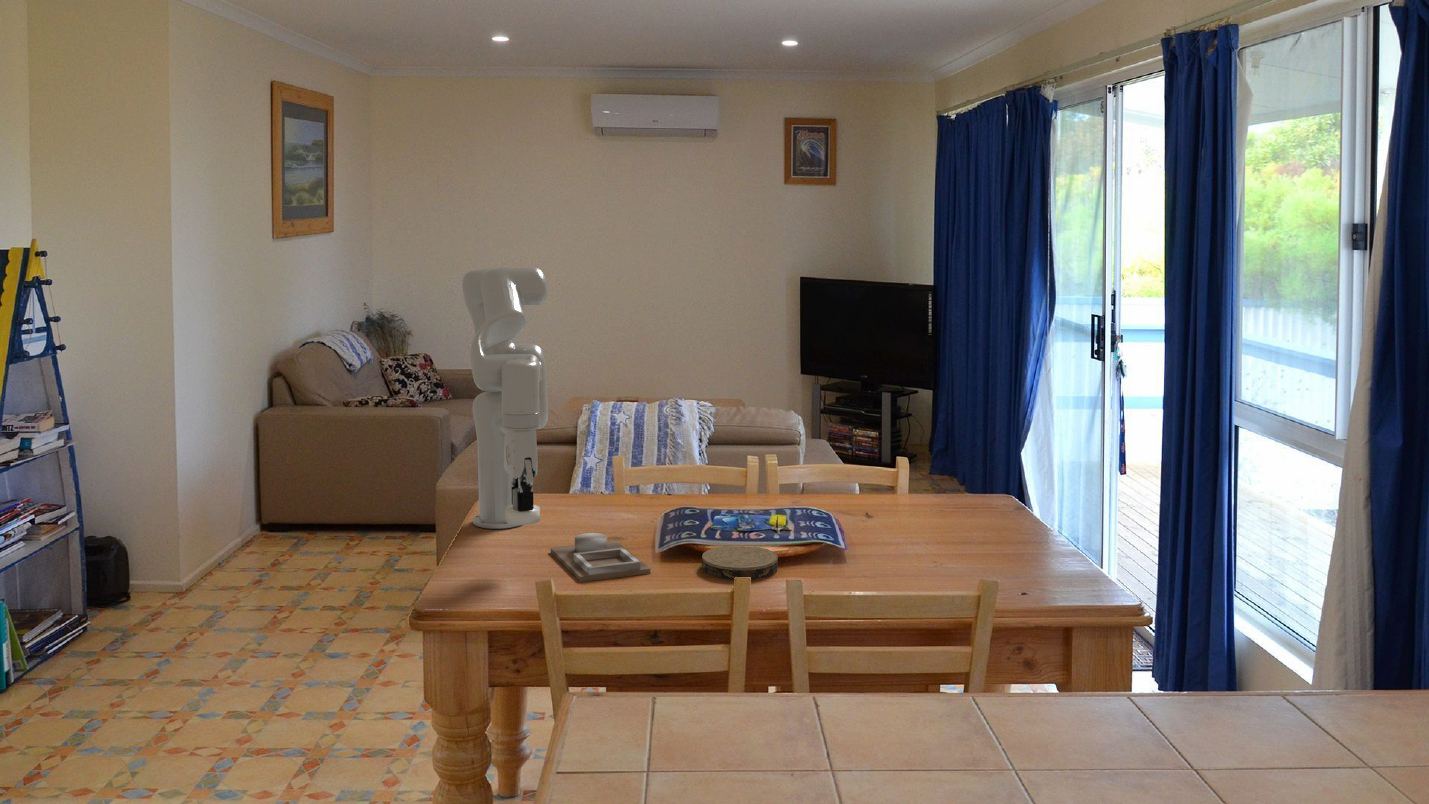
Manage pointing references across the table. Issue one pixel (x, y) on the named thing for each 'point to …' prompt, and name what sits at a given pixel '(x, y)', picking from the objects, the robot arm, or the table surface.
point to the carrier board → (598, 558)
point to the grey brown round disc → (739, 562)
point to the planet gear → (521, 513)
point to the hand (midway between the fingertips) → (522, 506)
